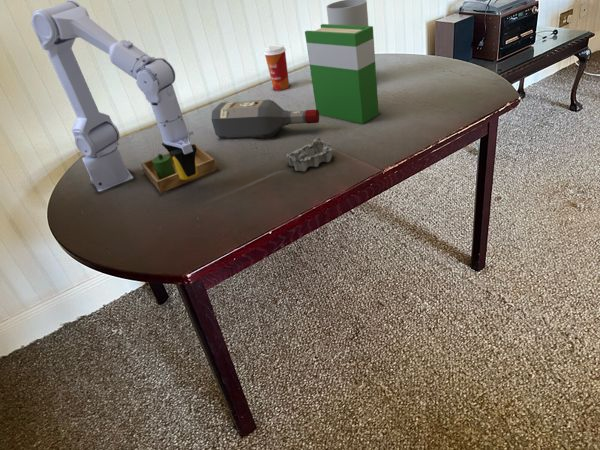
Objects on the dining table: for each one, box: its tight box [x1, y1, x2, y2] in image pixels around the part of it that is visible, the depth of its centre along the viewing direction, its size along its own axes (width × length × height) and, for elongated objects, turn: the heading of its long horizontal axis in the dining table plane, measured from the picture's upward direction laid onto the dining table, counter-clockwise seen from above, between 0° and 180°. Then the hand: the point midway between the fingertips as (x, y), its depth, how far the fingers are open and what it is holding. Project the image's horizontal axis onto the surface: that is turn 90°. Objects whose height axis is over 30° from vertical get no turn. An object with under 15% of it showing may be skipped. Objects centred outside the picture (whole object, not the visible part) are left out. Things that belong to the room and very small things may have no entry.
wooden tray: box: [140, 142, 218, 194], centre depth 122 cm, size 15×14×4 cm
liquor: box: [210, 99, 320, 139], centre depth 132 cm, size 9×9×30 cm
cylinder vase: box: [326, 0, 369, 26], centre depth 152 cm, size 12×12×25 cm
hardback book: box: [304, 23, 380, 125], centre depth 131 cm, size 18×7×24 cm, turn 45°
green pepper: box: [152, 153, 176, 180], centre depth 119 cm, size 5×5×6 cm
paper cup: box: [263, 44, 290, 92], centre depth 162 cm, size 8×8×14 cm
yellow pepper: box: [173, 156, 198, 180], centre depth 109 cm, size 5×5×6 cm
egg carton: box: [285, 137, 334, 173], centre depth 115 cm, size 11×8×4 cm
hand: (187, 171), depth 111 cm, fingers closed on yellow pepper, 4 cm apart
